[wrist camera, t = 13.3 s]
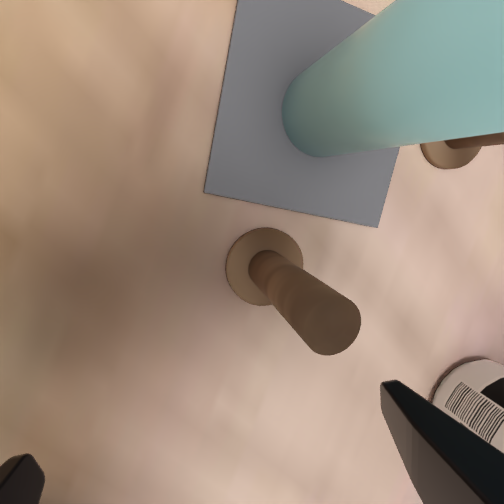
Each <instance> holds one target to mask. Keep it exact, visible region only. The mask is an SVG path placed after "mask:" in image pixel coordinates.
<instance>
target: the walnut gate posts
mask: <svg viewBox="0 0 504 504" xmlns="http://www.w3.org/2000/svg"><path fill="white" fill-rule="evenodd" d="M500 144H504V132H501V133H493V134H486V135H479V136H472V137H464V138H457V139H450V140H443V141H435V142H428V143H421V144H420V145H421V149H422V152H423V154H424V156H425V157H426V159H427V160H428V161H429V162H430V163H431V164H432V165H434V166H435V167H438V168H441V169H455V168H460V167H462V166H464V165H466V164H468V163H469V162H470V161H471V160H473V158H474V157H475V156H476V155H477V154H478V152H479V150H480V149H481V147H482V146H490V145H500ZM226 275H227V279H228V282H229V284H230V286H231V287H232V289H233V290H234V292H235V293H236V294H237V296H239V297H240V298H241V299H242V300H244V301H245V302H248V303H250V304H253V305H258V306H266V305H272V304H273V306H274V307H275V308H276V309H277V310H278V311H279V313H280V314H281V315H282V316H283V317H284V318H285V319H286V321H287V322H288V323H289V324H290V325H291V326H292V328H293V329H294V330H295V331H296V332H297V333H298V335H299V336H300V337H301V338H302V339H303V340H304V342H305V343H306V344H307V345H308V346H309V347H310V348H311V349H312V350H313V351H314V352H316V353H318V354H321V355H334V354H337V353H340V352H342V351H344V350H345V349H347V348H348V347H349V346H350V345H351V344H352V343H353V341H354V340H355V339H356V337H357V335H358V333H359V330H360V326H361V316H360V312H359V310H358V308H357V306H356V305H355V304H354V303H353V302H352V301H351V300H349V299H347V298H346V297H344V296H343V295H341V294H340V293H338V292H337V291H335V290H334V289H332V288H331V287H329V286H328V285H326V284H325V283H323V282H321V281H320V280H318V279H317V278H315V277H314V276H312V275H311V274H309V273H308V272H306V271H305V270H303V257H302V253H301V250H300V248H299V246H298V245H297V243H296V242H295V241H294V240H293V238H291V237H290V236H289V235H287V234H286V233H284V232H282V231H279V230H277V229H273V228H258V229H255V230H252V231H249V232H247V233H246V234H244V235H243V236H241V237H240V238H239V239H238V240H237V241H236V242H235V243H234V245H233V246H232V248H231V250H230V252H229V254H228V257H227V261H226Z"/></svg>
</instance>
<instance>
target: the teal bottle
mask: <svg viewBox="0 0 504 504" xmlns="http://www.w3.org/2000/svg"><path fill="white" fill-rule="evenodd" d="M282 120H283V125H284V129H285V131H286V134H287V136H288V138H289V139H290V141H291V142H292V143H293V144H294V146H295V147H296V148H298V149H299V150H300V151H302V152H303V153H305V154H307V155H310V156H314V157H326V156H334V155H341V154H348V153H356V152H363V151H370V150H377V149H385V148H392V147H399V146H406V145H414V144H421V143H428V142H435V141H443V140H450V139H457V138H464V137H472V136H479V135H486V134H493V133H501V132H504V0H395V1H394V2H393V3H391V4H390V5H389V6H388V7H386V8H385V9H384V10H382V11H381V12H380V13H378V14H377V15H376V16H375V17H373V18H372V19H371V20H369V21H368V22H367V23H365V24H364V25H363V26H362V27H360V28H359V29H358V30H356V31H355V32H354V33H353V34H351V35H350V36H349V37H347V38H346V39H345V40H343V41H342V42H341V43H340V44H338V45H337V46H336V47H334V48H333V49H332V50H331V51H329V52H328V53H327V54H325V55H324V56H323V57H321V58H320V59H319V60H318V61H316V62H315V63H314V64H312V65H311V66H310V67H309V68H307V69H306V70H305V71H303V72H302V73H301V74H299V75H298V76H297V77H296V78H295V79H294V80H293V81H292V83H291V84H290V86H289V87H288V89H287V91H286V94H285V96H284V100H283V105H282Z"/></svg>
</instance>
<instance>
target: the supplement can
mask: <svg viewBox="0 0 504 504" xmlns="http://www.w3.org/2000/svg"><path fill="white" fill-rule="evenodd" d="M432 404H433V405H435V406H436V407H438V408H439V409H441V410H442V411H443V412H445V413H446V414H448V415H449V416H451V417H452V418H454V419H455V420H456V421H458V422H459V423H461V424H462V425H464V426H465V427H467V428H468V429H469V430H471V431H472V432H474V433H475V434H477V435H478V436H480V437H481V438H482V439H484V440H485V441H487V442H488V443H490V444H491V445H493V446H494V447H495V448H497V449H498V450H500V451H501V452H503V453H504V366H503V365H501V364H500V363H498V362H495V361H491V360H487V359H484V360H478V361H472V362H468V363H464V364H462V365H460V366H459V367H457V368H455V369H453V370H452V371H451V372H450V373H449V374H448V375H447V376H446V377H445V378H444V379H443V380H442V382H441V384H440V385H439V387H438V388H437V390H436V392H435V395H434V398H433V402H432Z"/></svg>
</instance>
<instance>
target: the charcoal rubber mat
mask: <svg viewBox="0 0 504 504" xmlns="http://www.w3.org/2000/svg"><path fill="white" fill-rule="evenodd" d="M373 17H375V15H373V14H371V13H369V12H366V11H364V10H362V9H360V8H357V7H355V6H353V5H350V4H348V3H346V2H344V1H341V0H238V1H237V6H236V12H235V18H234V23H233V29H232V35H231V40H230V46H229V52H228V57H227V63H226V68H225V74H224V80H223V85H222V91H221V97H220V102H219V108H218V114H217V119H216V125H215V130H214V136H213V142H212V147H211V153H210V159H209V164H208V170H207V176H206V181H205V187H204V193H209V194H214V195H219V196H224V197H229V198H234V199H239V200H243V201H248V202H253V203H258V204H263V205H268V206H273V207H278V208H283V209H287V210H292V211H297V212H302V213H307V214H312V215H317V216H322V217H327V218H331V219H336V220H341V221H346V222H351V223H356V224H361V225H366V226H371V227H375V228H378V225H379V221H380V217H381V214H382V210H383V206H384V203H385V199H386V195H387V192H388V188H389V184H390V181H391V177H392V173H393V170H394V166H395V162H396V159H397V155H398V152H399V148H400V146H399V147H392V148H385V149H377V150H370V151H363V152H356V153H348V154H341V155H334V156H326V157H314V156H310V155H307V154H305V153H303V152H302V151H300V150H299V149H298V148H296V147H295V146H294V144H293V143H292V142H291V141H290V139H289V138H288V136H287V134H286V131H285V129H284V125H283V120H282V105H283V100H284V96H285V94H286V91H287V89H288V87H289V86H290V84H291V83H292V81H293V80H294V79H295V78H296V77H297V76H298V75H299V74H301V73H302V72H303V71H305V70H306V69H307V68H309V67H310V66H311V65H312V64H314V63H315V62H316V61H318V60H319V59H320V58H321V57H323V56H324V55H325V54H327V53H328V52H329V51H331V50H332V49H333V48H334V47H336V46H337V45H338V44H340V43H341V42H342V41H343V40H345V39H346V38H347V37H349V36H350V35H351V34H353V33H354V32H355V31H356V30H358V29H359V28H360V27H362V26H363V25H364V24H365V23H367V22H368V21H369V20H371V19H372V18H373Z"/></svg>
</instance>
